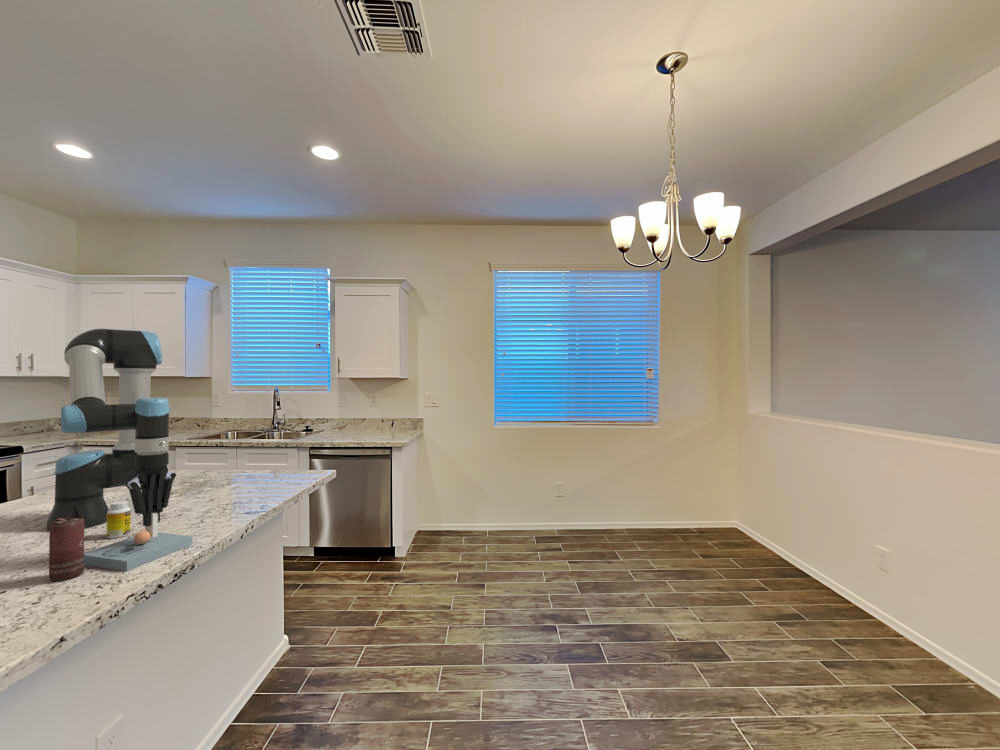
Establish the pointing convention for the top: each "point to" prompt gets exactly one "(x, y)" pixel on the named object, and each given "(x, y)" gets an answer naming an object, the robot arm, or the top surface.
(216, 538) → the top surface
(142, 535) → the ball
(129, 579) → the top surface
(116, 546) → the board
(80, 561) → the can
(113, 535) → the supplement bottle
